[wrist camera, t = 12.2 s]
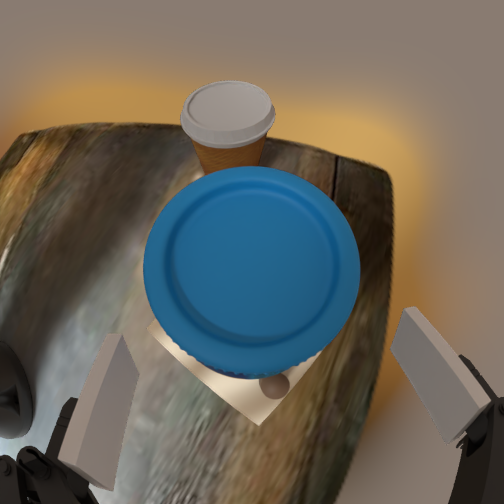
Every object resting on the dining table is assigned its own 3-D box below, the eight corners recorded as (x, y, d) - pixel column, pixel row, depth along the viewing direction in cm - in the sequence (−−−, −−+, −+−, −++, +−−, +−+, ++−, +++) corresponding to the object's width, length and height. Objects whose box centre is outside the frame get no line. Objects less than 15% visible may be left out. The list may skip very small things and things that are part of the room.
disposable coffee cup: (273, 201, 33) (285, 131, 22) (195, 209, 32) (176, 141, 21) (261, 145, 37) (267, 76, 25) (194, 152, 36) (180, 83, 25)
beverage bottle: (287, 369, 25) (392, 399, 6) (200, 364, 25) (96, 384, 6) (289, 286, 28) (369, 156, 9) (207, 282, 28) (147, 142, 9)
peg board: (151, 329, 27) (131, 324, 22) (241, 232, 32) (240, 208, 26) (258, 422, 24) (261, 437, 19) (344, 314, 28) (365, 305, 23)
